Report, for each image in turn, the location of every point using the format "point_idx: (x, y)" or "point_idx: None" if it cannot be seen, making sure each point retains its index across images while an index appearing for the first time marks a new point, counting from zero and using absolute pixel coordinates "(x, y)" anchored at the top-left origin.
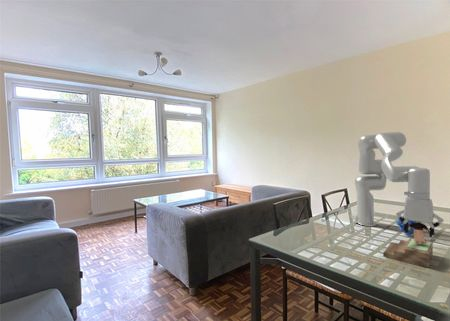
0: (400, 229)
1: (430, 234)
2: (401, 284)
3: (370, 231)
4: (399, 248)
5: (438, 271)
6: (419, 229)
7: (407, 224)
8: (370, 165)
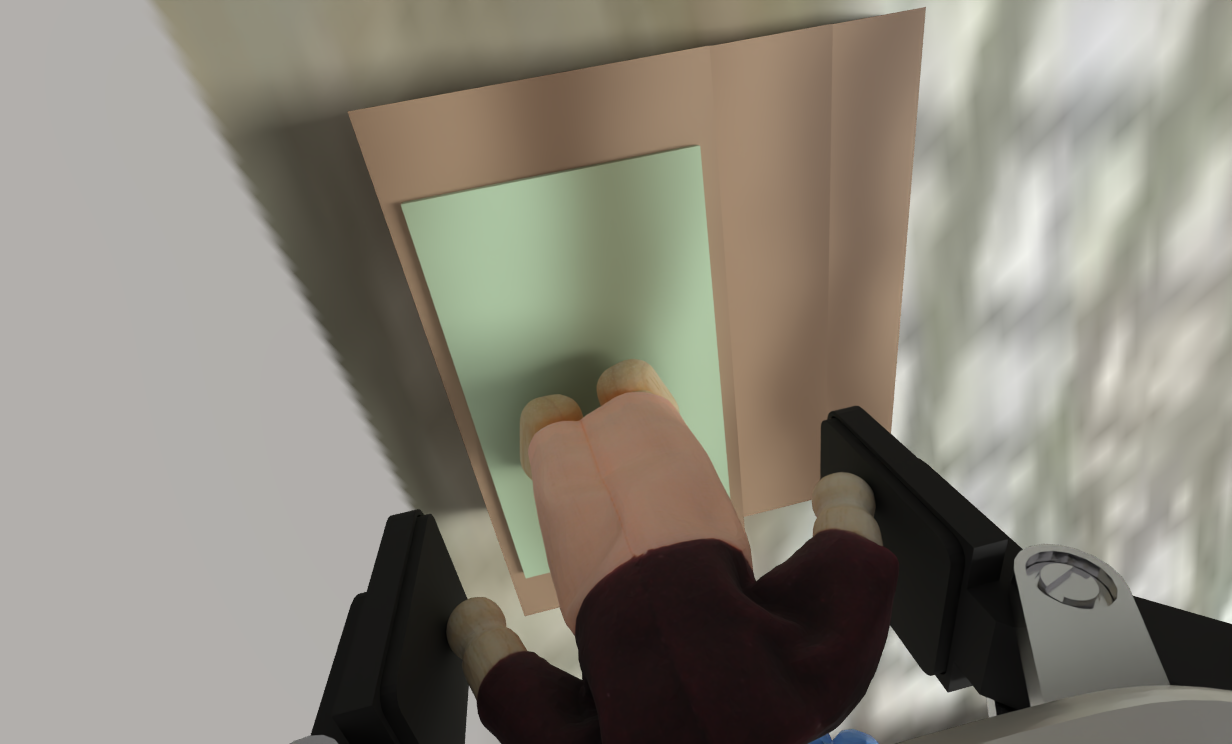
0: (870, 741)
1: (397, 550)
2: None
3: None
4: (782, 192)
5: (275, 89)
6: (634, 568)
7: (950, 574)
8: None
